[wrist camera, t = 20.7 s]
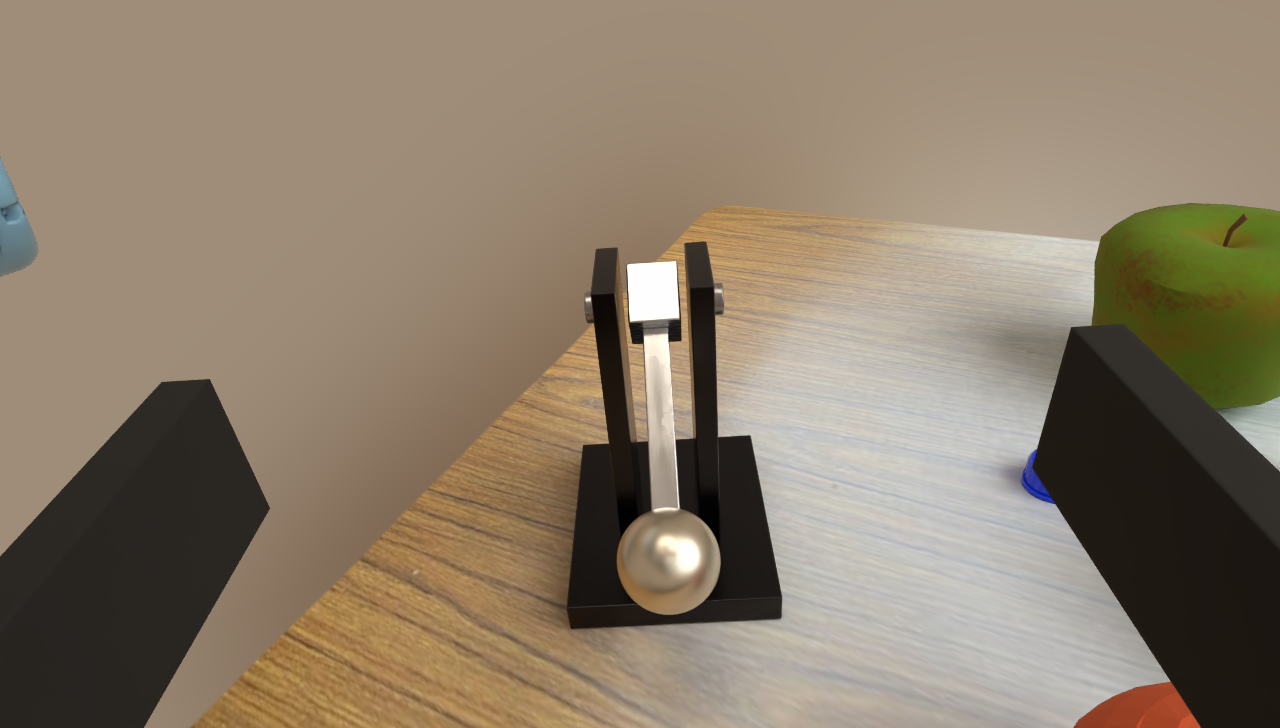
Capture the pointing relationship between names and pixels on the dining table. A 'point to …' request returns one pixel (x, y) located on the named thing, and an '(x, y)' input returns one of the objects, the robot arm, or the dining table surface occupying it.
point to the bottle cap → (1034, 481)
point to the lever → (663, 464)
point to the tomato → (1141, 710)
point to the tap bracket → (706, 466)
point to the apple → (1199, 295)
